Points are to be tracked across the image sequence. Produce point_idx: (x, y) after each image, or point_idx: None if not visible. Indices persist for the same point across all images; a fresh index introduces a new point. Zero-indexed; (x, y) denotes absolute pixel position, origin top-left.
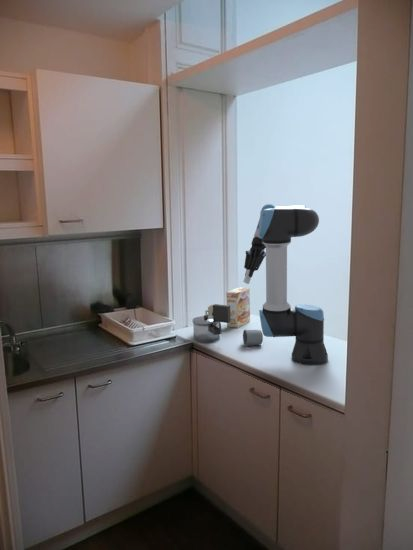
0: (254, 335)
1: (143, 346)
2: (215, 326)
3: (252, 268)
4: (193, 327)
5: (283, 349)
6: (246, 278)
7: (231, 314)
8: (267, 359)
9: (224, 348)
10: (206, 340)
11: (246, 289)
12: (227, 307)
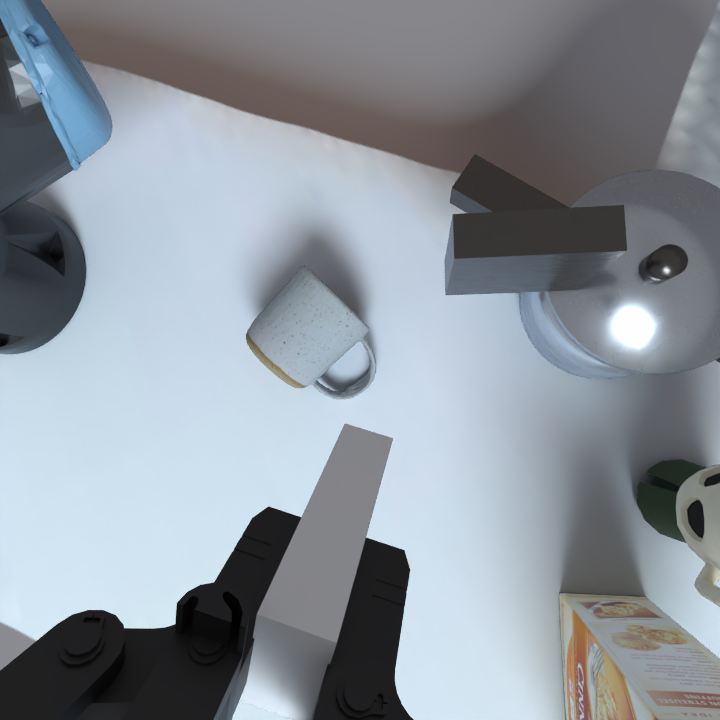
0: (274, 298)
1: None
2: None
3: (167, 662)
4: None
5: (155, 343)
6: (329, 458)
7: (646, 633)
8: (168, 191)
9: (416, 219)
10: None
11: None
12: (454, 215)
